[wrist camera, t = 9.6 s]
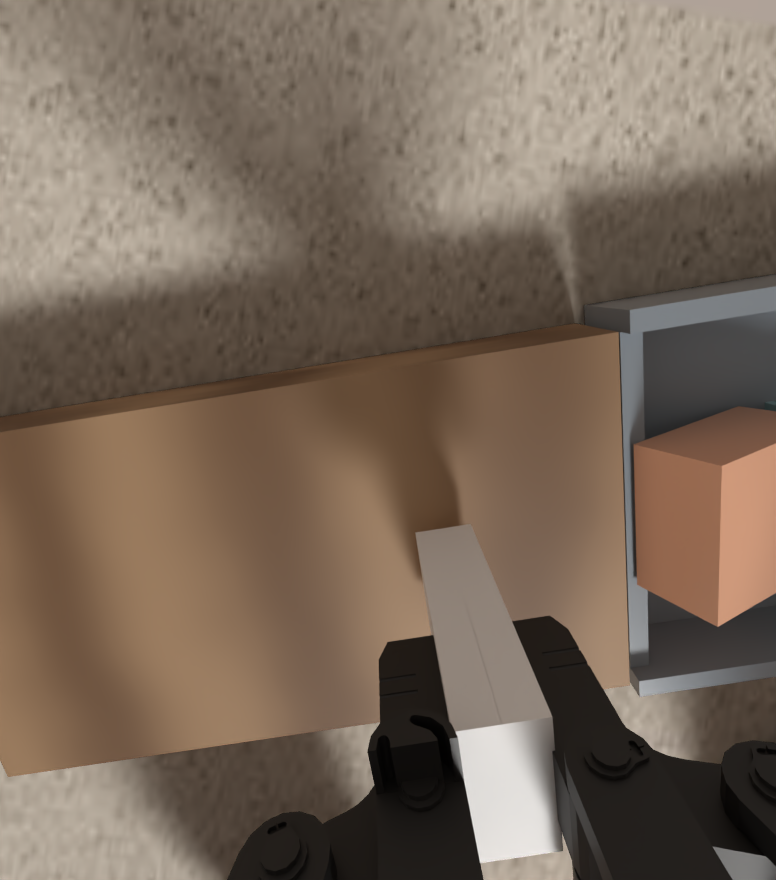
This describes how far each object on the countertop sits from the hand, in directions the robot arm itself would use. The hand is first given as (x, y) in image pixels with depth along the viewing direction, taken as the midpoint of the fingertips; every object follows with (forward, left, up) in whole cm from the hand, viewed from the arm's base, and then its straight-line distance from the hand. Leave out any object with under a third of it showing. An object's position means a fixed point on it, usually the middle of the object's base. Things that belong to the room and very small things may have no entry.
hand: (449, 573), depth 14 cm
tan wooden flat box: (-5, 0, -4) cm, 6 cm away
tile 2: (+8, 0, -2) cm, 8 cm away
